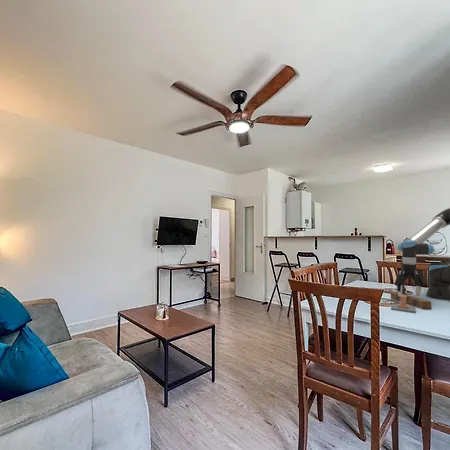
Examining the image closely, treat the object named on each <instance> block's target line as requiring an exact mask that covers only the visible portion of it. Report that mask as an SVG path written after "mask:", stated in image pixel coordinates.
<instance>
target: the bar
mask: <svg viewBox="0 0 450 450" xmlns="http://www.w3.org/2000/svg"><path fill="white" fill-rule="evenodd" d="M406 294H407V293H406ZM406 294H402V295H404V296H406V304H407V305H408V306H413V307H416V308H418V309H421V310H426V311H427V310H428V311H429V310H432V301H430V300H426V299H423V298H420V297H417V296H412V295H410V294H407V295H406ZM390 299H391V300H393V301H396V302H399V303H400V296H398V291H393V292H390Z"/></svg>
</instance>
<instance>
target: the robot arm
mask: <svg viewBox="0 0 450 450" xmlns="http://www.w3.org/2000/svg"><path fill="white" fill-rule="evenodd" d="M447 226H450V207H448V208H446V209H444V210H442V211H441V212H439V213H437V214H436V215H435V216H434V217H432V219H431V221H430V222H428V223H427V224H426V225H425V226H423V227H422V228H421V229H420V230H419V231H417V232H416V233H415V234H413V235H412V236H411V237H410V238H409V239H405V240H402V242H399V243H398V244H397V249H398V250H397V251H399V252H400V253H401V255H402V262H403V263H404V264H402V269H403V271H401V270H398V274H397V277H396V279H395V281H394V283H393V285H395V287H396V290H397V291H396V292H398V296H400V295H402V284H403V283H404V284H405V281H407V279H412V281H413V282H414V284H416V285H415V297H421V294H422V293H421V292H422V287H423V286H425V283H424V281H423V278H422V276H421V272H420V270H417V255H418V256H419V255H420V256H421V255H423V256H424V255H425V256H427V255H429V256H430V255H432V254H434V252H435V249H434V248H435V247H434V246H433V244H431V243H427V240H428V239H430V238H431V237H432V236H433V235H435V234H436V233H437V232H438V231H440V230H442V229H444V228H446V227H447ZM427 288H428V289H427V290H426V292H425V293H426V297H427V298H428V297H429V298H432V299H437V300H450V263H449V264H448V265H447V264H446V265H445V264H444V265H443V264H442V265H441V264H439V265H438V264H437V265H430V266H429V267H428V287H427Z"/></svg>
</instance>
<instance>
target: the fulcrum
mask: <svg viewBox="0 0 450 450" xmlns="http://www.w3.org/2000/svg"><path fill="white" fill-rule="evenodd" d="M416 308H417V307H414V306H411V305H408V304H406V296H404V295H400V302H399V303H398V304H397V303H392V304H391V308H390V309H391V311H397V312H403V313H410V314H416Z"/></svg>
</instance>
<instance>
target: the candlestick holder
mask: <svg viewBox="0 0 450 450" xmlns="http://www.w3.org/2000/svg"><path fill="white" fill-rule="evenodd" d="M402 264H404V263H403V262H402V256H401V257H400V271H403V269H402ZM401 287H402V294H406V295H408V294H407V293H406V290H407V288H406V286H405V282H404V283H403V284H402V286H401Z"/></svg>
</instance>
